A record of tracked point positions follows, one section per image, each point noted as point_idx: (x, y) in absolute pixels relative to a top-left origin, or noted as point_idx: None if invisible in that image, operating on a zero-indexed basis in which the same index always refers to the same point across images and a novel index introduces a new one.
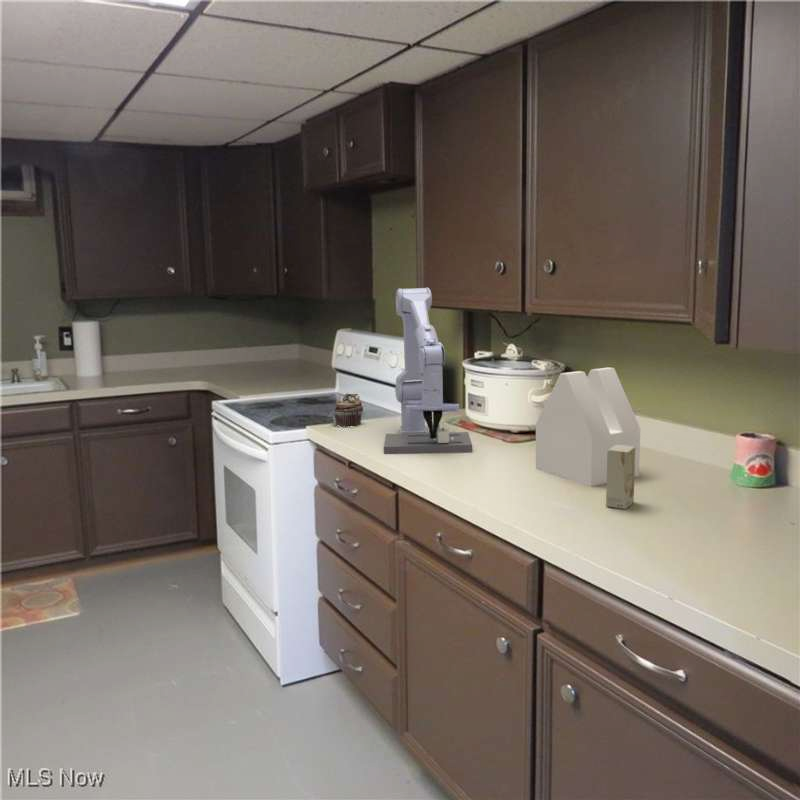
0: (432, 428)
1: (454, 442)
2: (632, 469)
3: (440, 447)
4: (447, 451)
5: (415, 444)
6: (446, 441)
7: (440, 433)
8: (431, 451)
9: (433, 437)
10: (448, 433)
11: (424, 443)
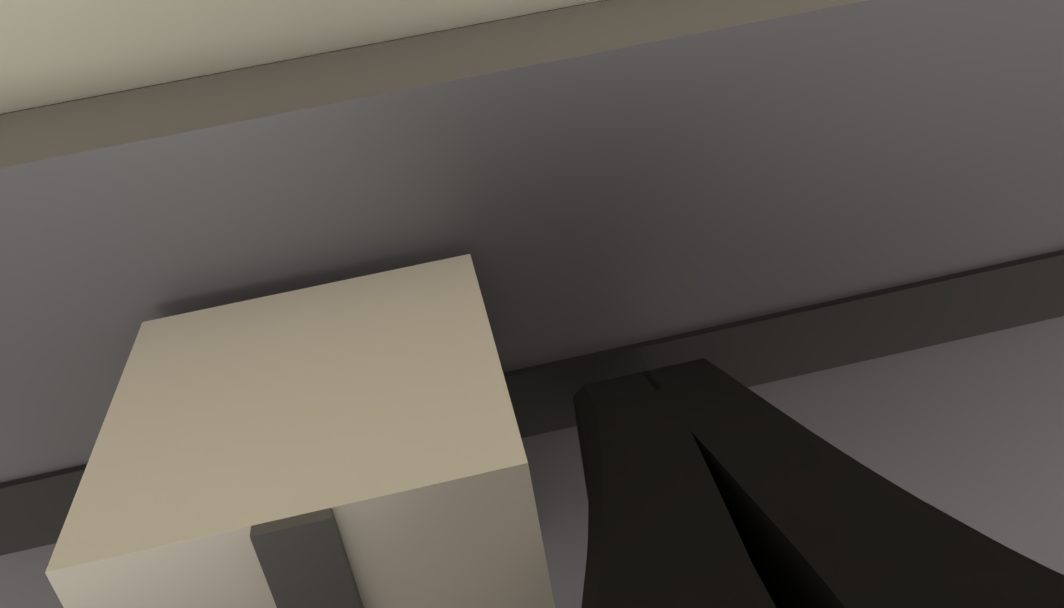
0: (797, 548)
1: (45, 478)
2: None
3: (366, 81)
4: (181, 90)
5: (1059, 156)
6: (213, 324)
7: (410, 431)
8: (598, 6)
9: (644, 384)
10: (85, 503)
11: (830, 287)
